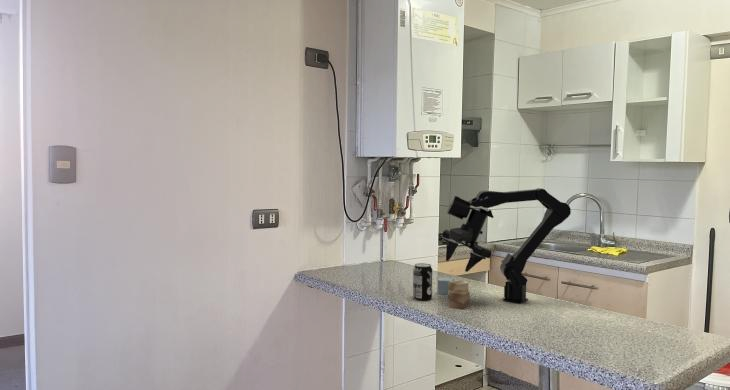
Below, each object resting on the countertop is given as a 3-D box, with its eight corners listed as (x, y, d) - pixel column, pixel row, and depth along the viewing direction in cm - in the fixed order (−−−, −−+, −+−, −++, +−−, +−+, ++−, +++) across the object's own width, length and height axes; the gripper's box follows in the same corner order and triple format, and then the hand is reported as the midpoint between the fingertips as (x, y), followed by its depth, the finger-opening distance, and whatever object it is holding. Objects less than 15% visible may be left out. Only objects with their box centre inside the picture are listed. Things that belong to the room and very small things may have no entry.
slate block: (453, 291, 194) (453, 278, 194) (451, 295, 189) (451, 281, 189) (439, 290, 195) (440, 277, 195) (437, 293, 190) (437, 280, 190)
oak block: (468, 296, 187) (468, 282, 186) (457, 298, 184) (458, 284, 184) (458, 293, 191) (458, 280, 191) (448, 295, 188) (448, 281, 188)
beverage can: (431, 296, 186) (432, 263, 186) (432, 301, 180) (432, 266, 179) (413, 296, 187) (413, 262, 186) (412, 300, 180) (413, 266, 180)
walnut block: (469, 306, 174) (469, 291, 174) (463, 309, 170) (463, 294, 169) (455, 304, 177) (455, 289, 176) (449, 307, 172) (449, 292, 172)
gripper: (440, 210, 182) (423, 251, 183) (481, 229, 168) (461, 273, 169) (460, 217, 190) (443, 257, 191) (500, 236, 176) (481, 278, 177)
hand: (456, 266), depth 182 cm, fingers open, 9 cm apart
